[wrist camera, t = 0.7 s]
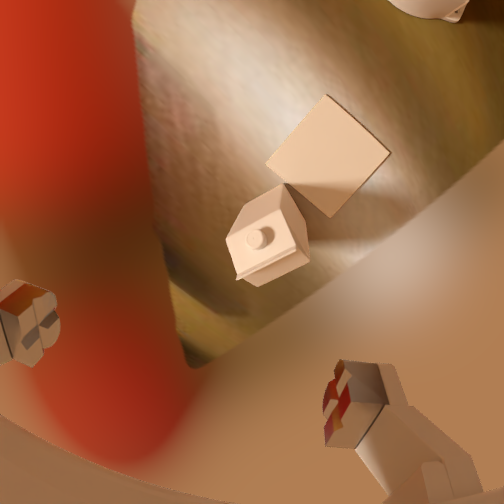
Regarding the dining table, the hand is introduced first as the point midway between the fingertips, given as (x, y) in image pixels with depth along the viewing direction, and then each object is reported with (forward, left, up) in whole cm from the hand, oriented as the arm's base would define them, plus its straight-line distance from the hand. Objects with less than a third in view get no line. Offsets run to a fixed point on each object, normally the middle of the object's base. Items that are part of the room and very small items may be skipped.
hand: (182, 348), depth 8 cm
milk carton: (+7, +6, -43) cm, 44 cm away
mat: (-5, +6, -43) cm, 43 cm away
